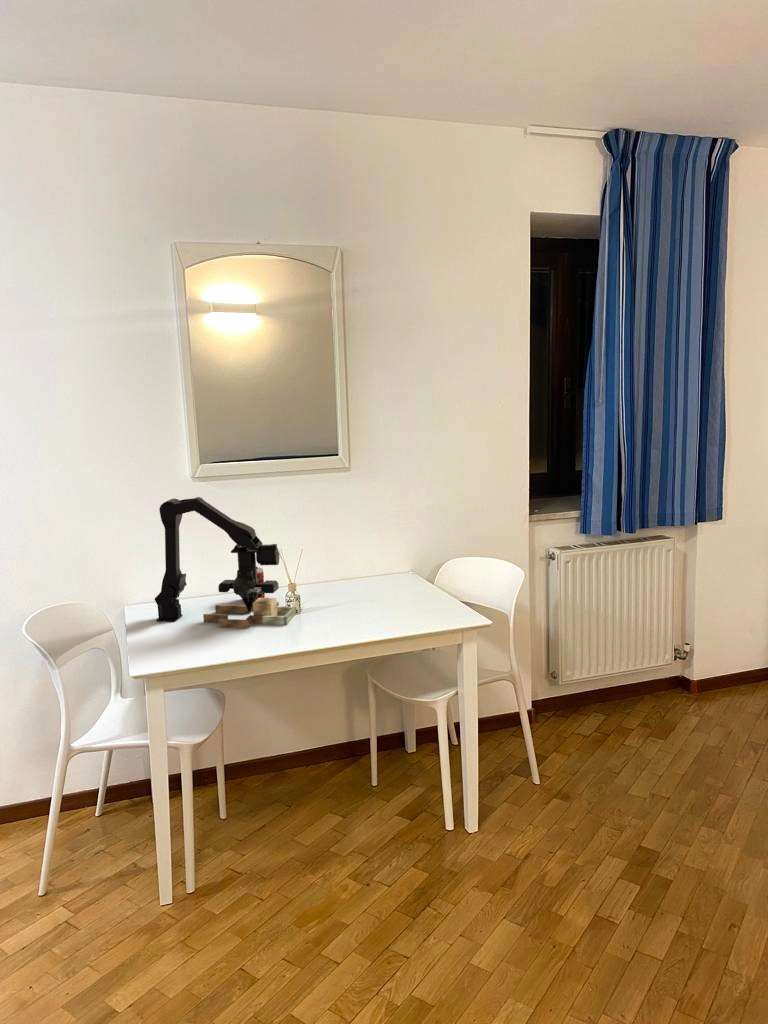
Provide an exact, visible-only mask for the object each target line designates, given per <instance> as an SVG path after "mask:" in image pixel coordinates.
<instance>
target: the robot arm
mask: <svg viewBox="0 0 768 1024" xmlns="http://www.w3.org/2000/svg"><path fill="white" fill-rule="evenodd" d="M158 512H159V515H160V521H161V523H162V525H163V528H164V539H165V540H164V547H165V548H164V549H165V550H164V553H165V554H164V555H165V558H164V559H165V560H164V561H165V572H164V575H163V579H162V582H161V589H160V592H159V593H158V594H157V595H156V596H155V597H154V601H155V602H156V603H155V604H156V605H157V614H158V618H157V619H156V622H171V623H172V622H176V621H177V620H179V619H180V618H182V617H183V613H182V605H181V603H180V599H178V598H179V597H180V595H181V593H182V592H183V591H184V590H185V587H186V586H187V585H188V584H187V582H186V581H187V580H186V578H187V573H183V572H182V570H181V566H180V565H181V564H180V562H181V561H180V553H181V552H180V524H181V523H182V518H183V516H184V515H183V514H186V513H191V512H195V513H197V514H198V515H200V516H202V518H204V519H206V520H207V521H209V522H211V523H212V524H214V525H215V526H216V527H218V528H220V529H221V530H223V531H224V532H225V533H226V534H227V536H229V538H230V539H231V541H232V542H234V543H235V545H234V547H233V548H232V549H231V550H230V553H231V554H237V567H238V568H237V571H236V572H237V573H236V577H235V579H223V580H222V582H220V583H218V592H219V593H229V591H230V590H231V589H232V590H233V593H234V594H235V595H237V596H239V597H240V598H241V599H242V601H243V602H244V605H246V607H247V609H248V612H251V611H252V609H253V603H254V602H255V599H256V597H257V595H258V594H259V593H260V592H261V591H262V592H263V593H265V594H274V593H276V591H277V590H279V588H280V587H279V582H278V581H277V580H272V579H271V580H267V579H266V580H264V583H263V584H262V583H257V582H258V578H257V572H256V570H257V569H258V568H257V567H258V566H257V564H258V565H260V566H278V565H279V564H280V552H279V548H278V544H277V543H271V544H263V541H261V539H260V538H259V537H258V536H257V534H256V529H254V528H253V526H250V525H248V524H246V523H243V522H240V521H236V520H234V519H232V517H229V516H228V515H227V514H225V513H223V512H222V511H220V510H219V509H217V508H216V507H214V506H213V505H211V504H210V503H209V502H208V501H205V500H204V498H202V497H200V496H196V497H194V498H193V497H192V498H185V499H178V498H175V497H174V498H171V499H168V500H166V501H165V502H163V503H161V505H160V506H159V511H158ZM250 591H251V592H250ZM252 612H253V611H252ZM252 612H251V613H252Z"/></svg>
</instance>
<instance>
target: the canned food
mask: <svg viewBox="0 0 768 1024" xmlns="http://www.w3.org/2000/svg"><path fill="white" fill-rule="evenodd" d="M257 568H258V569H257V570H256V572H257V578H258V582H257V583H262V584H263V583H264V582H265V577H264V576H265V574H264V573H265V572H264V569H263V567H260V566H259V567H258V566H257ZM250 592H251V591H250ZM258 598H266V593H263V592H262V591H261V592H260V593H259V594H258V595H257V597H256V599H255V601H256V600H257V599H258Z"/></svg>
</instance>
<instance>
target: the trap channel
mask: <svg viewBox="0 0 768 1024" xmlns="http://www.w3.org/2000/svg"><path fill="white" fill-rule="evenodd" d="M214 607H215V613H213V614H212V613H203V623H214V624H215V623H218V628H225V629H226V628H227V629H249V628H250V627H251V626H252V625H254V624H255V625H256V624H257V625H280V626H281V625H283V626H287V625H288V624H289V623H290V622H291V621H292V620H293V619H294V618H295V616H296V615H298V614H297V613H296V610H297V606H289V607H287V606H285V605H284V606H282V605H280V603H279V601H277V616H261V615H254V614H251V613H252V612H253V609H252V611H251V612H248V609H247V607H246V605H245V604H243V605H242V604H241V605H239V604H215V605H214ZM228 614H245V615H246V614H248V615H249V616H247V618H245V619H235V618H233V619H231V618H229V615H228Z"/></svg>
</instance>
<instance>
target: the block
mask: <svg viewBox="0 0 768 1024" xmlns="http://www.w3.org/2000/svg"><path fill="white" fill-rule="evenodd" d="M277 602H278V601H277V598H275V597H272V598H271V597H265V598H258V599H257V600H256V601H255V602H254V603H253V611H252V612H253V613H252V615H261V616H278V614H277Z"/></svg>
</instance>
